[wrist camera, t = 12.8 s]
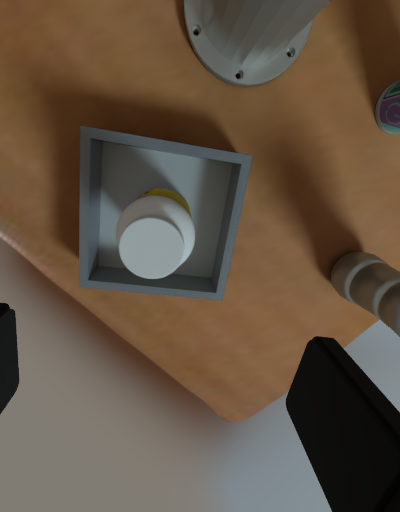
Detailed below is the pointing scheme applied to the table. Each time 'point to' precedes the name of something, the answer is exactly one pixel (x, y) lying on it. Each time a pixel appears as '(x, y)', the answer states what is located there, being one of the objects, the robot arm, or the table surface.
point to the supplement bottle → (155, 233)
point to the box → (142, 179)
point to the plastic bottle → (369, 286)
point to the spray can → (389, 109)
